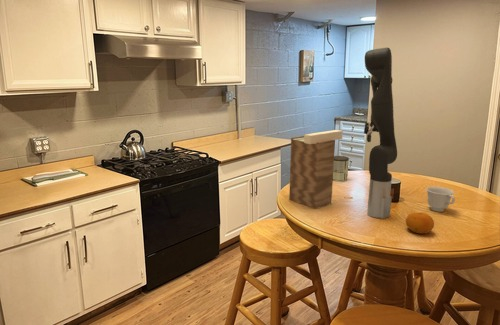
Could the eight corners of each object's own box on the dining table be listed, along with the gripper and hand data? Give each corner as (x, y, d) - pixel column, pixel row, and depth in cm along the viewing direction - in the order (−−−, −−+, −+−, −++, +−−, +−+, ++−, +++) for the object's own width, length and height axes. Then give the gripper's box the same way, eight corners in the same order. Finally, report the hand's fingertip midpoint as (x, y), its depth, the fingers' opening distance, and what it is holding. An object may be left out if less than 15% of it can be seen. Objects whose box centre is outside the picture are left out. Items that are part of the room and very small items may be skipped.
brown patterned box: (331, 203, 182) (335, 140, 174) (315, 209, 175) (318, 142, 167) (304, 194, 196) (307, 135, 188) (289, 199, 188) (291, 137, 181)
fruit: (424, 225, 156) (426, 208, 154) (437, 236, 145) (440, 218, 143) (400, 226, 155) (402, 208, 153) (412, 236, 145) (414, 218, 143)
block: (342, 138, 182) (342, 130, 181) (310, 144, 167) (310, 135, 166) (335, 137, 185) (336, 129, 184) (304, 142, 170) (304, 134, 169)
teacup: (441, 217, 165) (443, 197, 162) (418, 206, 178) (420, 187, 176) (462, 215, 168) (465, 194, 165) (438, 204, 182) (440, 185, 179)
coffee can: (329, 177, 230) (330, 155, 227) (345, 177, 229) (347, 156, 226) (331, 181, 220) (332, 159, 217) (348, 182, 220) (350, 159, 216)
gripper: (394, 113, 187) (391, 144, 191) (370, 111, 198) (368, 140, 201) (387, 114, 182) (384, 145, 186) (362, 112, 193) (360, 141, 197)
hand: (376, 142), depth 194 cm, fingers open, 8 cm apart
